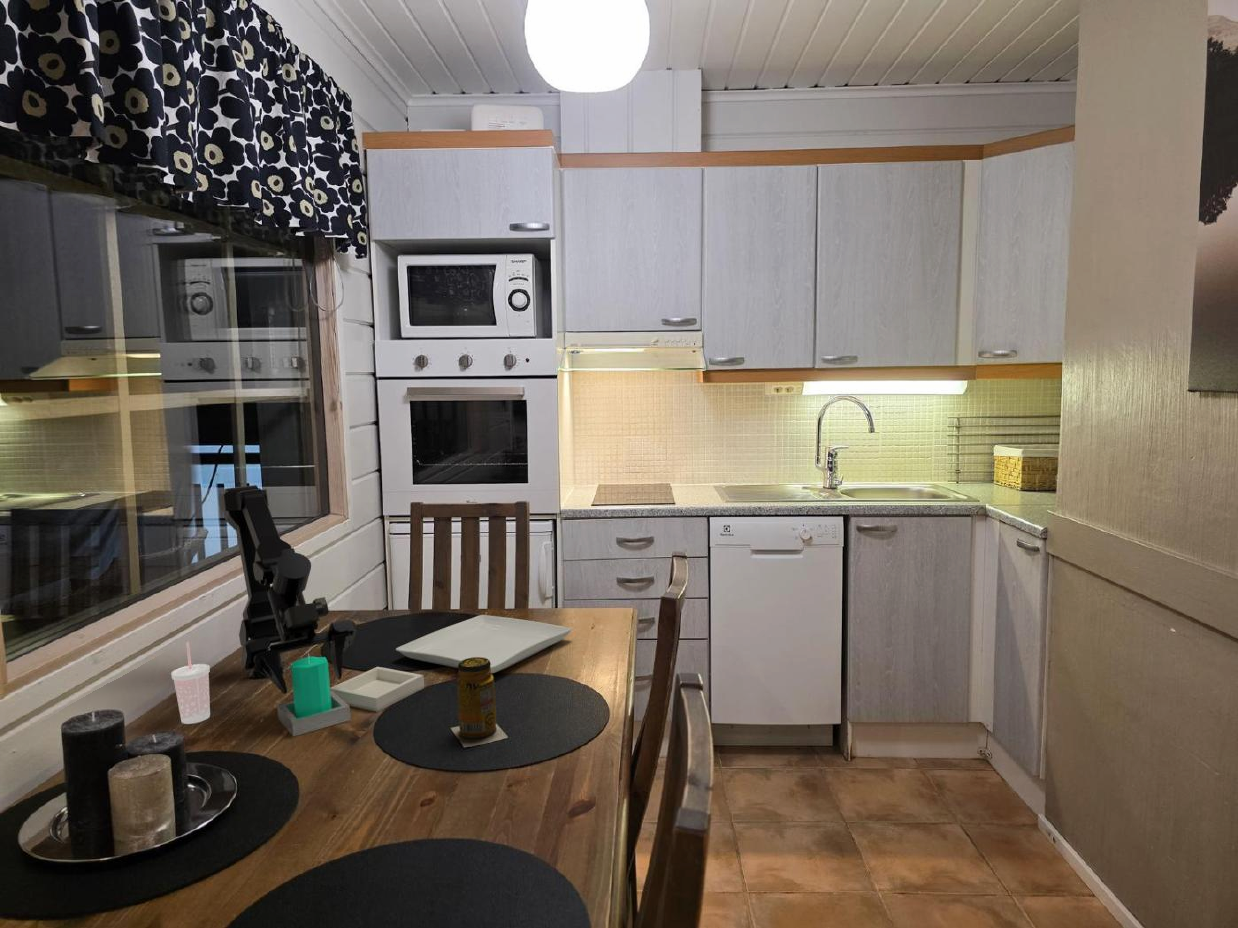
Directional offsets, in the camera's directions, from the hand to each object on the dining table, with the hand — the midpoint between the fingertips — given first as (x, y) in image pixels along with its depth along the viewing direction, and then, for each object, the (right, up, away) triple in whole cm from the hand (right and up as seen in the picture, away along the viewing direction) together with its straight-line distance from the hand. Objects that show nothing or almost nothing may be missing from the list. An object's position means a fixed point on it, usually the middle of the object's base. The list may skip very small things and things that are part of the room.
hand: (313, 685), depth 139 cm
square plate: (+25, -3, +33) cm, 41 cm away
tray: (+8, -5, +12) cm, 15 cm away
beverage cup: (-23, -7, +5) cm, 24 cm away
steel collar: (-1, -7, +2) cm, 7 cm away
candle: (-1, -7, +2) cm, 7 cm away
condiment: (+30, -6, -7) cm, 31 cm away
